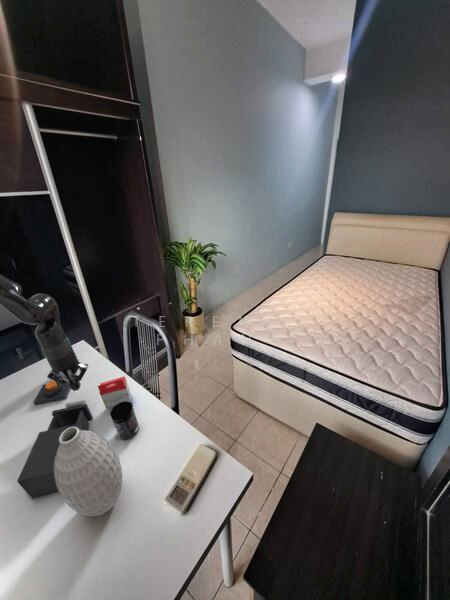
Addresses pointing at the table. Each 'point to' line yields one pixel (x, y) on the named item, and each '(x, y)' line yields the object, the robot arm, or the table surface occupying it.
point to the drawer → (71, 415)
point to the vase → (87, 472)
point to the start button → (51, 386)
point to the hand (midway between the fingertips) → (76, 388)
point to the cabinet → (42, 464)
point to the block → (52, 394)
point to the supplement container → (124, 420)
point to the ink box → (115, 392)
